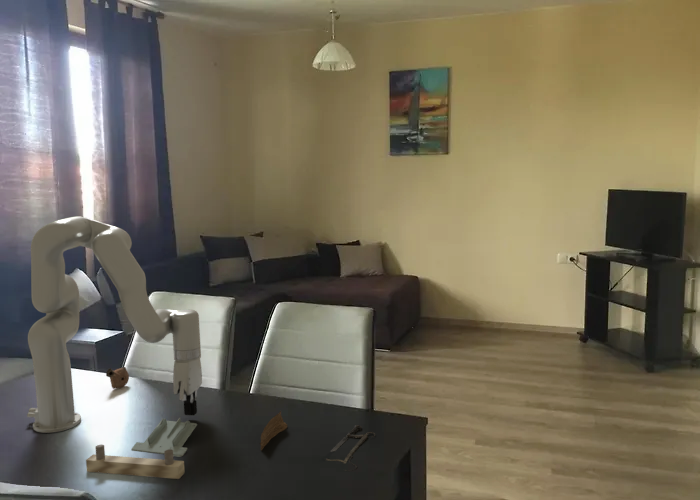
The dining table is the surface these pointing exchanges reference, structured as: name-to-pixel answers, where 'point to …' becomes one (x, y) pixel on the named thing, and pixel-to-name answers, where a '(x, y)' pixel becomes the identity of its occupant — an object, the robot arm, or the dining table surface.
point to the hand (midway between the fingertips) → (190, 414)
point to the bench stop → (135, 465)
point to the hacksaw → (350, 434)
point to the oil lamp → (118, 377)
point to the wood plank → (272, 429)
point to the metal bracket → (167, 438)
